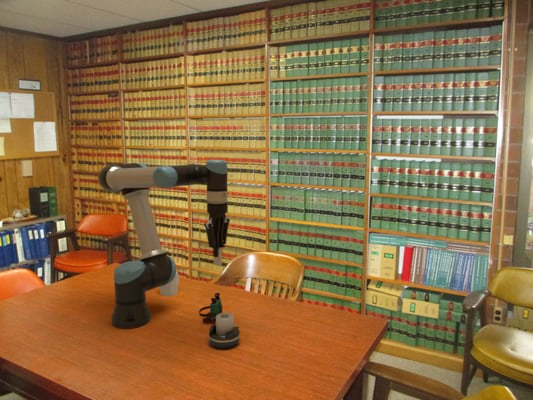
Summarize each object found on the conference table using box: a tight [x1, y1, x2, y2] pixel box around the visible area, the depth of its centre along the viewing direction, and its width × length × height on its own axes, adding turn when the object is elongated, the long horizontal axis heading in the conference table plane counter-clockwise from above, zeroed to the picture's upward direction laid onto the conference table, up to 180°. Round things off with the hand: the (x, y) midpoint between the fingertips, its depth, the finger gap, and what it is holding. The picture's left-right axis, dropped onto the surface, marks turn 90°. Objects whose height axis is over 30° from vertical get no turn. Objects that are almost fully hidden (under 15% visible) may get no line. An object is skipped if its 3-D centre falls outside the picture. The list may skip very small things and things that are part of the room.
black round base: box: [208, 323, 241, 351], centre depth 153 cm, size 11×11×6 cm
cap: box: [216, 312, 235, 336], centre depth 152 cm, size 6×6×6 cm
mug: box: [159, 271, 181, 297], centre depth 203 cm, size 12×9×10 cm
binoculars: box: [198, 292, 224, 324], centre depth 172 cm, size 9×11×10 cm
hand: (217, 264), depth 158 cm, fingers closed
